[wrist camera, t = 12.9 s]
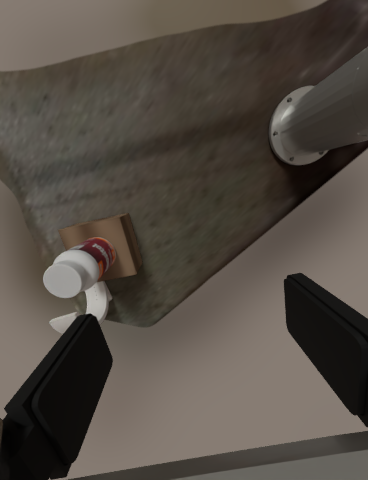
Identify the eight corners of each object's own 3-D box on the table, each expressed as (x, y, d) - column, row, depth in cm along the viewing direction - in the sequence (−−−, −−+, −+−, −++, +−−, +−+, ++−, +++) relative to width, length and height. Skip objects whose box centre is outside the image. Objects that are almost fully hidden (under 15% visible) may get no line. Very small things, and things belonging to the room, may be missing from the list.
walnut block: (128, 213, 38) (119, 217, 32) (142, 262, 41) (136, 274, 35) (76, 223, 38) (58, 230, 32) (94, 271, 41) (80, 285, 35)
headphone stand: (103, 279, 41) (74, 314, 30) (114, 301, 43) (90, 343, 31) (84, 285, 42) (48, 322, 30) (96, 307, 43) (66, 350, 32)
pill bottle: (122, 262, 34) (96, 295, 23) (92, 272, 34) (53, 310, 24) (107, 231, 32) (72, 252, 22) (75, 242, 33) (26, 268, 22)
